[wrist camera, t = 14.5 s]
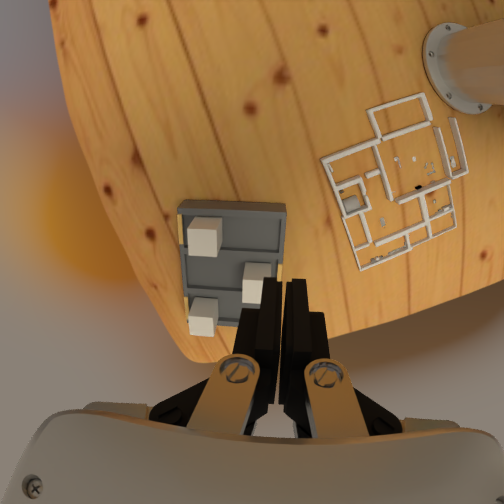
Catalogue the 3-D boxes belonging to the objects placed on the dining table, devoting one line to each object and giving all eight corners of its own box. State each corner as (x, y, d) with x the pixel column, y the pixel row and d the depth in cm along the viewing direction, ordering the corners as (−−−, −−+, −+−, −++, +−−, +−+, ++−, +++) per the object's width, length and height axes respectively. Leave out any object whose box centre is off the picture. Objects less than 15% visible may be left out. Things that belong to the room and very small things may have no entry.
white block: (271, 263, 36) (271, 281, 32) (269, 285, 37) (269, 304, 33) (245, 262, 36) (242, 279, 32) (245, 283, 37) (242, 302, 33)
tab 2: (217, 298, 38) (212, 318, 35) (218, 317, 40) (213, 336, 36) (195, 297, 38) (187, 315, 35) (196, 315, 40) (190, 334, 36)
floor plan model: (419, 43, 25) (426, 40, 24) (469, 218, 35) (476, 223, 33) (283, 84, 30) (284, 82, 28) (358, 267, 39) (361, 274, 37)
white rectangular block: (222, 216, 33) (216, 229, 30) (222, 241, 35) (216, 257, 31) (195, 215, 33) (187, 228, 30) (197, 240, 35) (188, 255, 31)
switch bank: (285, 203, 35) (286, 213, 32) (275, 314, 42) (276, 330, 39) (185, 199, 36) (176, 208, 32) (192, 308, 43) (186, 323, 39)
